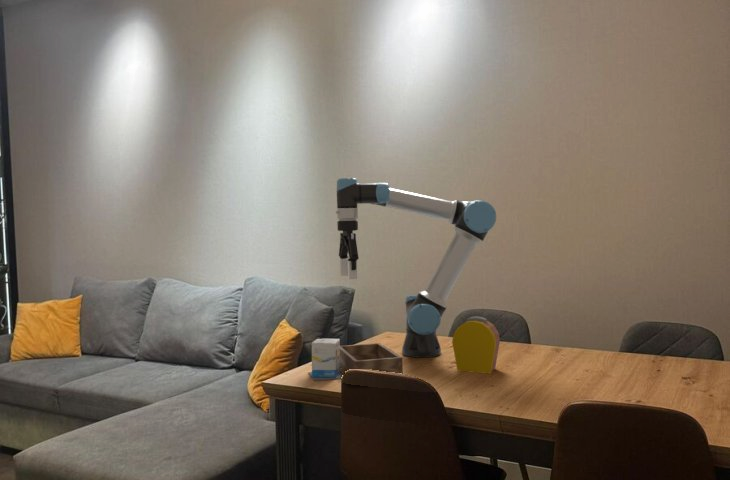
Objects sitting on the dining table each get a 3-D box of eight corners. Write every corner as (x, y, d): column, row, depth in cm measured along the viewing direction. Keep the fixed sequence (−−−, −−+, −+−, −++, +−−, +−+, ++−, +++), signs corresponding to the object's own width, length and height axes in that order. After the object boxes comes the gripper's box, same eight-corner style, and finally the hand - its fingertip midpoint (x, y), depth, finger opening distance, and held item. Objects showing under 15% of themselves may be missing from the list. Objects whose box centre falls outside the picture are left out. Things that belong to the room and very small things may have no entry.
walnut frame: (380, 361, 240) (379, 342, 240) (402, 378, 214) (402, 357, 214) (337, 365, 236) (336, 346, 235) (355, 382, 210) (354, 361, 210)
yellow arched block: (500, 368, 226) (500, 316, 225) (495, 374, 218) (494, 320, 217) (459, 365, 232) (458, 314, 231) (452, 370, 224) (451, 318, 224)
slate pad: (339, 370, 227) (339, 369, 227) (346, 378, 216) (346, 377, 216) (308, 373, 224) (308, 372, 224) (314, 381, 213) (314, 379, 213)
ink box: (336, 377, 216) (335, 343, 215) (311, 377, 217) (310, 342, 216) (341, 371, 224) (340, 338, 224) (317, 371, 225) (316, 337, 225)
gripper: (330, 220, 249) (331, 274, 250) (345, 220, 225) (346, 280, 226) (349, 219, 251) (350, 274, 252) (366, 219, 227) (367, 279, 228)
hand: (348, 277), depth 239 cm, fingers open, 13 cm apart
